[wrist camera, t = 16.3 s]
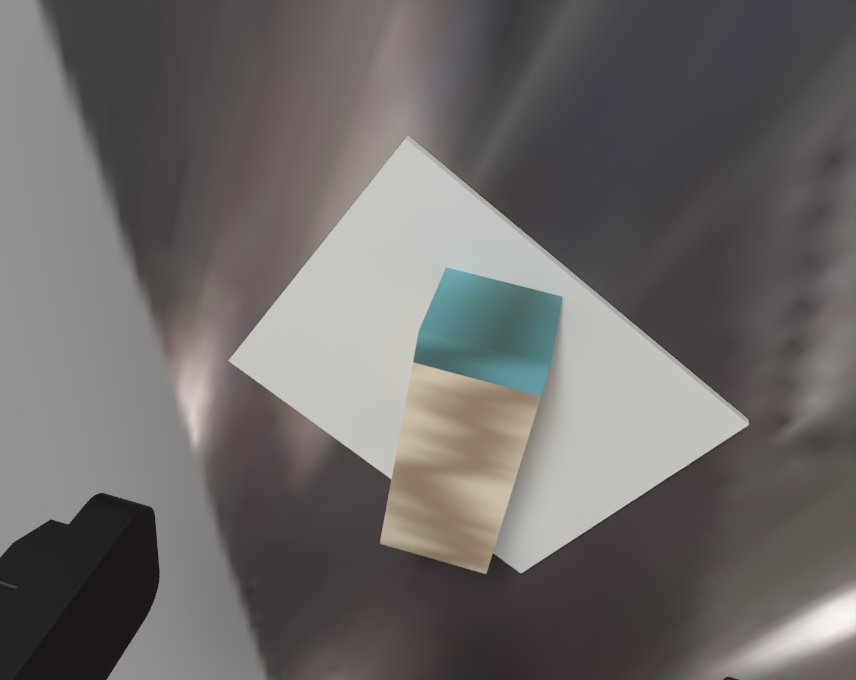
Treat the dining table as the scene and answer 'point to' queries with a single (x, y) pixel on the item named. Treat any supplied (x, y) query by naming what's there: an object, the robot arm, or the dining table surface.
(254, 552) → the dining table surface
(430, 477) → the beige tall box
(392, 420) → the grey mat
